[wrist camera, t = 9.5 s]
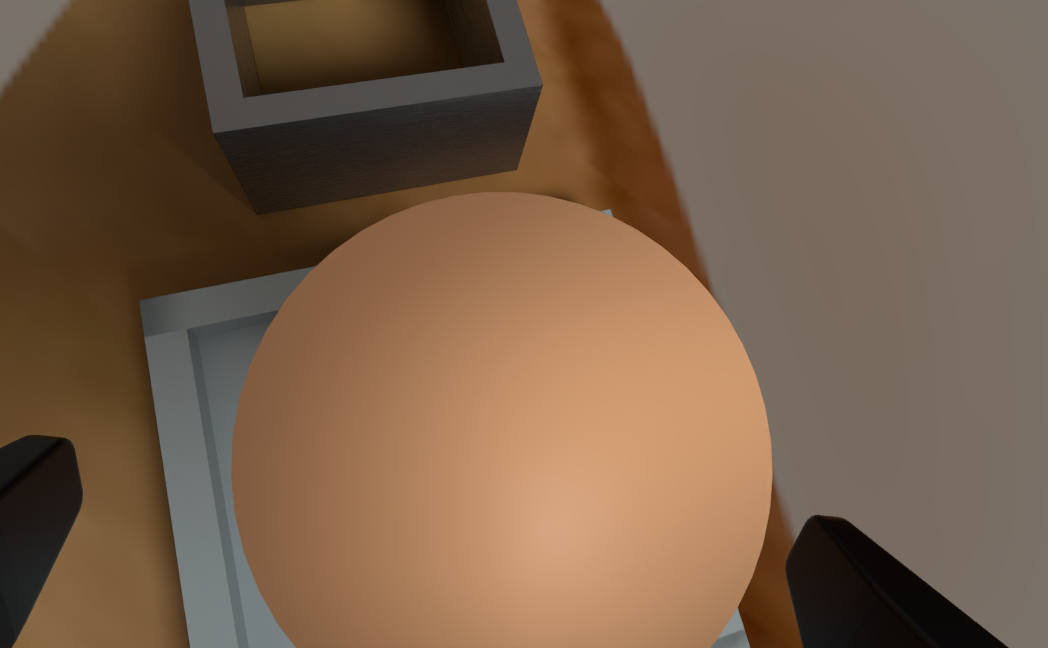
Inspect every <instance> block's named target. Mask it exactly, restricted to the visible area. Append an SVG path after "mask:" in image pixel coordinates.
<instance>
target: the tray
mask: <svg viewBox="0 0 1048 648" xmlns="http://www.w3.org/2000/svg"><path fill="white" fill-rule="evenodd" d="M599 212H602V213H605V214H607V215H610V216H612V213H611V210H605V211H599ZM612 217H613V216H612ZM315 267H316V266H314V267H309V268H304V269H299V270H294V271H288V272H283V273H278V274H273V275H268V276H262V277H257V278H252V279H247V280H242V281H237V282H231V283H226V284H221V285H216V286H211V287H205V288H200V289H195V290H190V291H185V292H180V293H174V294H169V295H164V296H159V297H154V298H148V299H143V300H139V304H140V311H141V318H142V325H143V331H144V338H145V345H146V352H147V359H148V365H149V372H150V379H151V386H152V392H153V399H154V406H155V413H156V419H157V426H158V433H159V440H160V447H161V453H162V460H163V467H164V474H165V480H166V487H167V494H168V501H169V507H170V514H171V521H172V528H173V535H174V541H175V548H176V555H177V562H178V568H179V575H180V582H181V589H182V595H183V602H184V609H185V616H186V623H187V629H188V636H189V643H190V648H296V647H295V646H294V644H293V643H292V642H291V640H290V639H289V638H288V637H287V635H286V634H285V633H284V632H283V630H282V629H281V628H280V626H279V625H278V623H277V621H276V620H275V618H274V616H273V614H272V613H271V611H270V609H269V607H268V606H267V604H266V602H265V600H264V599H263V597H262V595H261V593H260V592H259V590H258V587H257V584H256V582H255V579H254V577H253V574H252V572H251V569H250V567H249V564H248V562H247V559H246V557H245V554H244V551H243V546H242V542H241V538H240V534H239V530H238V526H237V521H236V517H235V511H234V501H233V490H232V480H231V464H232V439H233V431H234V426H235V420H236V415H237V409H238V403H239V398H240V395H241V392H242V389H243V386H244V383H245V380H246V376H247V373H248V370H249V367H250V364H251V362H252V360H253V357H254V355H255V353H256V351H257V349H258V347H259V345H260V343H261V341H262V338H263V336H264V334H265V332H266V330H267V329H268V327H269V325H270V324H271V322H272V321H273V319H274V318H275V316H276V315H277V313H278V312H279V310H280V308H281V307H282V305H283V304H284V302H285V301H286V299H287V298H288V297H289V296H290V295H291V293H292V292H293V291H294V290H295V289H296V288H297V286H298V285H299V284H300V283H301V282H302V280H303V279H304V278H305V277H306V276H307V275H308V273H309V272H311V271H312V270H313V269H314V268H315ZM710 648H750V645H749V642H748V639H747V636H746V633H745V630H744V627H743V624H742V620H741V617H740V614H739V611H738V608H737V609H736V611H735V613H734V614H733V616H732V617H731V619H730V620H729V622H728V623H727V625H726V626H725V628H724V629H723V631H722V632H721V634H720V635H719V637H718V638H717V640H716V641H715V642H714V644H713V645H712V646H711V647H710Z"/></svg>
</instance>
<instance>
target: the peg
mask: <svg viewBox="0 0 1048 648" xmlns="http://www.w3.org/2000/svg"><path fill="white" fill-rule="evenodd" d="M231 480H232V490H233V501H234V511H235V517H236V521H237V526H238V530H239V534H240V538H241V542H242V546H243V551H244V554H245V557H246V559H247V562H248V564H249V567H250V569H251V572H252V574H253V577H254V579H255V582H256V584H257V587H258V590H259V592H260V593H261V595H262V597H263V599H264V600H265V602H266V604H267V606H268V607H269V609H270V611H271V613H272V614H273V616H274V618H275V620H276V621H277V623H278V625H279V626H280V628H281V629H282V630H283V632H284V633H285V634H286V635H287V637H288V638H289V639H290V640H291V642H292V643H293V644H294V646H295V647H296V648H710V647H711V646H712V645H713V644H714V642H715V641H716V640H717V638H718V637H719V635H720V634H721V632H722V631H723V629H724V628H725V626H726V625H727V623H728V622H729V620H730V619H731V617H732V616H733V614H734V613H735V611H736V609H737V607H738V605H739V603H740V601H741V599H742V597H743V595H744V593H745V591H746V589H747V587H748V584H749V582H750V580H751V578H752V575H753V573H754V570H755V567H756V564H757V561H758V558H759V555H760V552H761V549H762V546H763V542H764V537H765V532H766V527H767V522H768V517H769V512H770V501H771V488H772V455H771V439H770V433H769V427H768V421H767V415H766V409H765V405H764V402H763V398H762V395H761V391H760V388H759V384H758V381H757V378H756V375H755V373H754V370H753V368H752V365H751V363H750V361H749V358H748V356H747V353H746V351H745V349H744V346H743V344H742V343H741V341H740V339H739V337H738V335H737V334H736V332H735V330H734V328H733V327H732V325H731V323H730V321H729V320H728V318H727V316H726V315H725V314H724V312H723V311H722V309H721V308H720V307H719V305H718V304H717V303H716V301H715V300H714V298H713V297H712V296H711V294H710V293H709V292H708V290H707V289H706V288H705V287H704V286H703V285H702V284H701V283H700V282H699V281H698V280H697V279H696V277H695V276H694V275H693V274H692V273H691V272H690V271H689V270H688V269H687V268H686V267H685V266H684V265H683V264H682V263H680V262H679V261H678V260H677V259H676V258H675V257H673V256H672V255H671V254H670V253H669V252H668V251H666V250H665V249H664V248H663V247H662V246H660V245H659V244H657V243H656V242H654V241H653V240H651V239H650V238H648V237H647V236H645V235H644V234H642V233H641V232H640V231H638V230H637V229H635V228H633V227H631V226H629V225H627V224H625V223H623V222H621V221H619V220H617V219H615V218H613V217H612V216H610V215H607V214H605V213H602V212H599V211H597V210H594V209H592V208H589V207H586V206H584V205H581V204H578V203H574V202H570V201H566V200H562V199H558V198H554V197H550V196H543V195H535V194H528V193H520V192H481V193H473V194H464V195H455V196H450V197H446V198H442V199H438V200H434V201H430V202H425V203H422V204H419V205H416V206H414V207H411V208H408V209H406V210H403V211H400V212H398V213H395V214H392V215H390V216H388V217H387V218H385V219H383V220H381V221H379V222H377V223H375V224H373V225H371V226H369V227H368V228H366V229H364V230H362V231H360V232H359V233H358V234H356V235H355V236H353V237H352V238H351V239H349V240H348V241H346V242H345V243H343V244H342V245H341V246H339V247H338V248H336V249H335V250H334V251H332V252H331V253H330V254H329V255H328V256H327V257H326V258H325V259H324V260H323V261H322V262H320V263H319V264H318V265H317V266H316V267H315V268H314V269H313V270H312V271H311V272H309V273H308V275H307V276H306V277H305V278H304V279H303V280H302V282H301V283H300V284H299V285H298V286H297V288H296V289H295V290H294V291H293V292H292V293H291V295H290V296H289V297H288V298H287V299H286V301H285V302H284V304H283V305H282V307H281V308H280V310H279V312H278V313H277V315H276V316H275V318H274V319H273V321H272V322H271V324H270V325H269V327H268V329H267V330H266V332H265V334H264V336H263V338H262V341H261V343H260V345H259V347H258V349H257V351H256V353H255V355H254V357H253V360H252V362H251V364H250V367H249V370H248V373H247V376H246V380H245V383H244V386H243V389H242V392H241V395H240V398H239V403H238V409H237V415H236V420H235V426H234V431H233V439H232V464H231Z"/></svg>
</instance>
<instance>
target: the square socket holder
mask: <svg viewBox="0 0 1048 648" xmlns="http://www.w3.org/2000/svg"><path fill="white" fill-rule="evenodd" d="M286 1H295V0H189V6H190V11H191V16H192V22H193V27H194V33H195V38H196V44H197V49H198V55H199V60H200V65H201V71H202V76H203V82H204V87H205V93H206V98H207V104H208V109H209V114H210V120H211V125H212V131H213V134H214V136H215V138H216V140H217V142H218V143H219V145H220V147H221V149H222V151H223V153H224V154H225V156H226V158H227V160H228V162H229V164H230V165H231V167H232V169H233V171H234V173H235V175H236V176H237V178H238V180H239V182H240V184H241V186H242V188H243V189H244V191H245V193H246V195H247V197H248V199H249V200H250V202H251V204H252V206H253V208H254V210H255V211H256V213H257V215H258V214H264V213H270V212H276V211H281V210H287V209H293V208H299V207H304V206H310V205H316V204H322V203H327V202H333V201H339V200H345V199H351V198H356V197H362V196H368V195H374V194H379V193H385V192H391V191H397V190H403V189H408V188H414V187H420V186H426V185H431V184H437V183H443V182H449V181H454V180H460V179H466V178H472V177H478V176H483V175H489V174H495V173H501V172H506V171H512V170H517V168H518V164H519V161H520V158H521V155H522V151H523V148H524V145H525V142H526V138H527V135H528V132H529V129H530V125H531V122H532V119H533V115H534V112H535V109H536V106H537V102H538V99H539V96H540V93H541V89H542V86H543V84H542V81H541V78H540V74H539V71H538V68H537V65H536V61H535V58H534V55H533V52H532V49H531V45H530V42H529V39H528V36H527V32H526V29H525V26H524V23H523V19H522V16H521V13H520V10H519V6H518V3H517V0H444V2H445V5H446V9H447V13H448V16H449V20H450V23H451V27H452V30H453V34H454V37H455V41H456V45H457V48H458V52H459V55H460V59H461V62H462V66H463V68H460V69H452V70H445V71H438V72H430V73H423V74H415V75H408V76H401V77H393V78H386V79H379V80H371V81H364V82H357V83H349V84H342V85H335V86H327V87H320V88H313V89H305V90H298V91H291V92H283V93H276V94H268V95H262V93H261V88H260V84H259V79H258V74H257V69H256V64H255V59H254V54H253V49H252V44H251V39H250V35H249V30H248V25H247V20H246V15H245V10H244V6H249V5H258V4H267V3H277V2H286Z"/></svg>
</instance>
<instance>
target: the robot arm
mask: <svg viewBox="0 0 1048 648" xmlns="http://www.w3.org/2000/svg"><path fill="white" fill-rule="evenodd" d="M82 499H83V489H82V484H81V478H80V473H79V468H78V463H77V458H76V453H75V448H74V445H73V444H72V442H71V441H70V440H68V439H66V438H62V437H53V436H43V435H28V436H25V437H23V438H20V439H18V440H16V441H14V442H12V443H10V444H8V445H6V446H3V447H1V448H0V648H12V647H13V645H14V643H15V642H16V640H17V638H18V636H19V634H20V632H21V630H22V628H23V627H24V625H25V623H26V621H27V619H28V617H29V615H30V613H31V611H32V609H33V606H34V604H35V602H36V600H37V598H38V596H39V594H40V592H41V590H42V588H43V586H44V584H45V582H46V580H47V578H48V575H49V573H50V571H51V569H52V567H53V565H54V563H55V561H56V559H57V557H58V555H59V553H60V551H61V549H62V546H63V544H64V542H65V540H66V538H67V536H68V534H69V532H70V530H71V528H72V526H73V524H74V522H75V520H76V518H77V515H78V513H79V511H80V508H81V505H82ZM786 578H787V582H788V586H789V590H790V595H791V599H792V603H793V607H794V611H795V616H796V620H797V624H798V628H799V632H800V636H801V641H802V645H803V648H1008V647H1007V646H1006V645H1005V644H1003V643H1002V642H1000V640H998V639H997V638H996V637H994V636H993V635H992V634H991V633H989V632H988V631H987V630H985V629H984V628H983V627H982V626H981V625H979V624H978V623H977V622H975V621H974V620H973V619H972V618H970V617H969V616H968V615H967V614H965V613H964V612H963V611H962V610H960V609H959V608H958V607H956V606H955V605H954V604H953V603H951V602H950V601H949V600H948V599H946V598H945V597H944V596H943V595H941V594H940V593H939V592H937V591H936V590H935V589H933V588H932V587H931V586H930V585H929V584H927V583H926V582H925V581H923V580H922V579H921V578H920V577H918V576H917V575H916V574H915V573H913V572H912V571H911V570H909V569H908V568H907V567H906V566H904V565H903V564H902V563H901V562H899V561H898V560H897V559H895V558H894V557H893V556H892V555H891V554H889V553H888V552H887V551H885V550H884V549H883V548H882V547H880V546H879V545H878V544H877V543H875V542H874V541H873V540H872V539H870V538H869V537H868V536H867V535H865V534H864V533H863V532H861V531H860V530H859V529H858V528H856V527H855V526H854V525H853V524H851V523H850V522H849V521H847V520H846V519H843V518H840V517H833V516H823V515H814V516H812V517H810V518H809V519H808V520H807V521H806V523H805V524H804V526H803V528H802V530H801V532H800V534H799V536H798V538H797V539H796V541H795V543H794V545H793V547H792V549H791V551H790V553H789V555H788V557H787V561H786Z"/></svg>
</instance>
